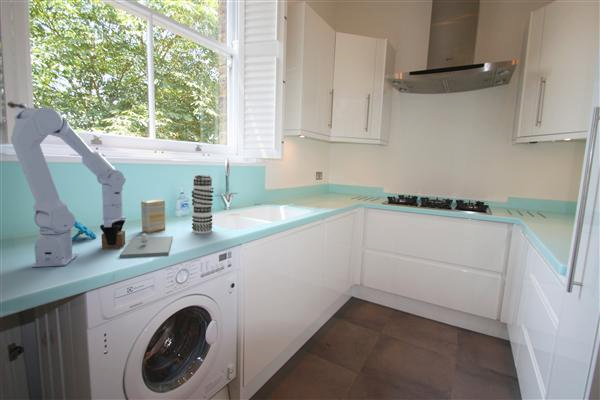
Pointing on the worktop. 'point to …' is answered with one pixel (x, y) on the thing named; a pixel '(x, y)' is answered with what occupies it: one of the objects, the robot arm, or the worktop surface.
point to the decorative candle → (202, 204)
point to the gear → (83, 231)
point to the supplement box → (153, 215)
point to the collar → (119, 242)
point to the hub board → (147, 246)
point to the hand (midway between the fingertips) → (113, 242)
